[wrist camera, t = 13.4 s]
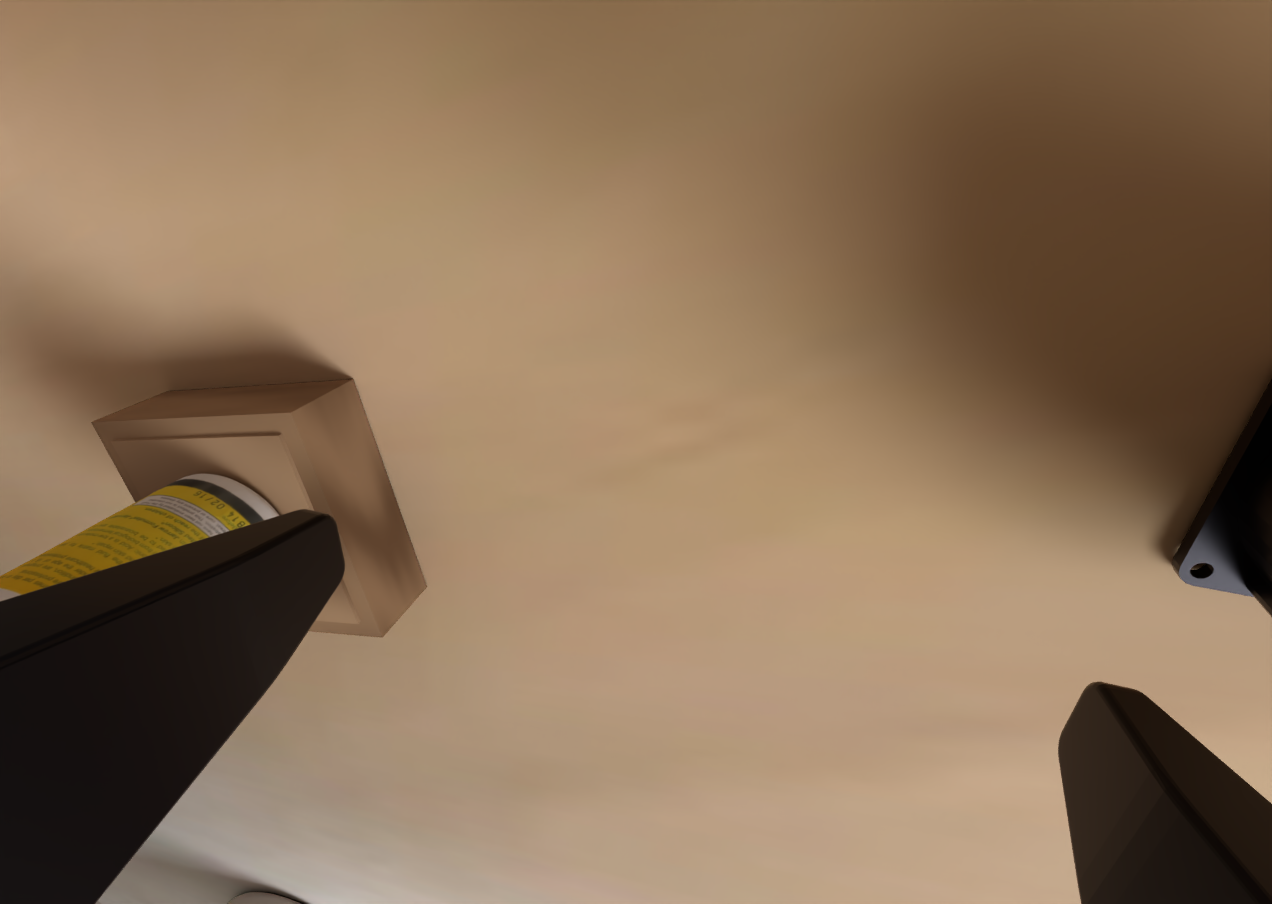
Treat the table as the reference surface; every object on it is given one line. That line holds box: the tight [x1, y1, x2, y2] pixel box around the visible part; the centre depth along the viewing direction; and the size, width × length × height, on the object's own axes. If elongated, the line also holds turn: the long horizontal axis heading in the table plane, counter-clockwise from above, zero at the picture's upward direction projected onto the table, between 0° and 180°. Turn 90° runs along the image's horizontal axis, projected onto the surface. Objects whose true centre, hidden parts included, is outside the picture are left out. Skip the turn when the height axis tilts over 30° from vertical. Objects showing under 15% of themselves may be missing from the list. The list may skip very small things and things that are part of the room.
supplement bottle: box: [0, 474, 280, 601], centre depth 19 cm, size 5×5×10 cm
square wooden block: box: [91, 379, 427, 637], centre depth 25 cm, size 9×9×3 cm
